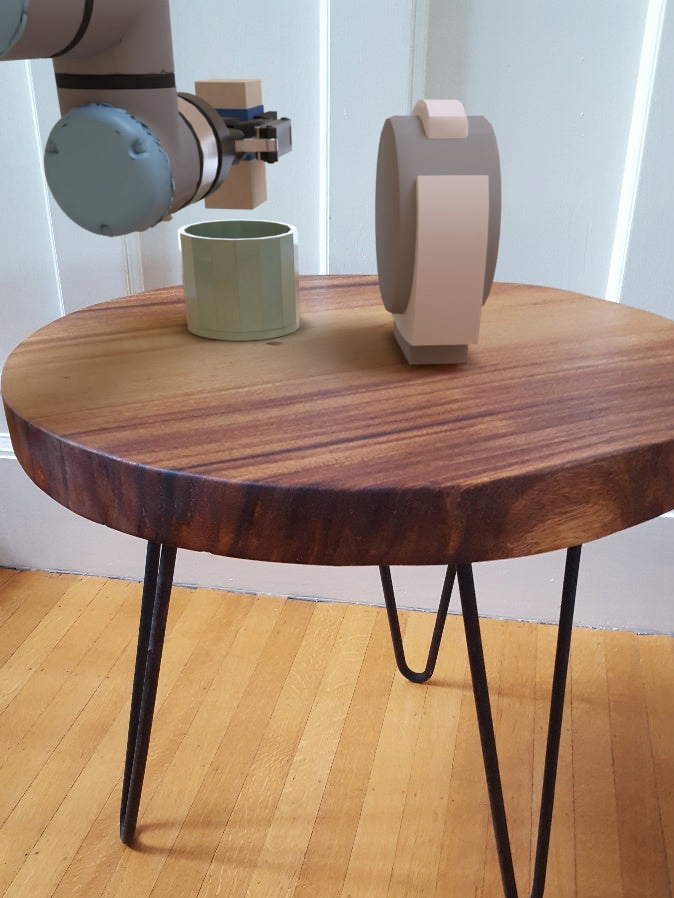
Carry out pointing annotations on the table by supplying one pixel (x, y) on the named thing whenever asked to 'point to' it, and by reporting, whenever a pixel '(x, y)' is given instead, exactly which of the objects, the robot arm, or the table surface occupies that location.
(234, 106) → the eraser
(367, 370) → the table surface
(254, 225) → the cup
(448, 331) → the alarm clock
